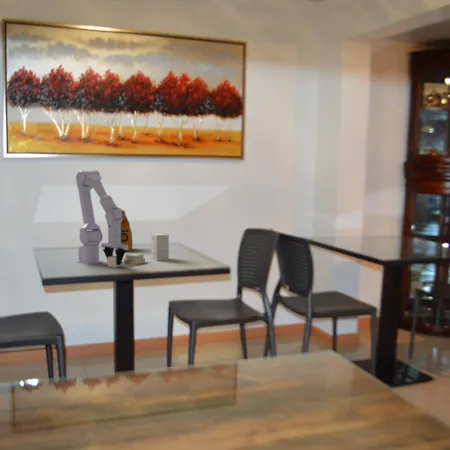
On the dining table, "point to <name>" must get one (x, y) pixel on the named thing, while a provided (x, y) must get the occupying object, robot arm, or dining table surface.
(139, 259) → the maple base slab
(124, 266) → the rubber mat
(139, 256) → the sage top slab
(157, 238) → the small box
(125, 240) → the coffee package
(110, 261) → the offwhite cube
